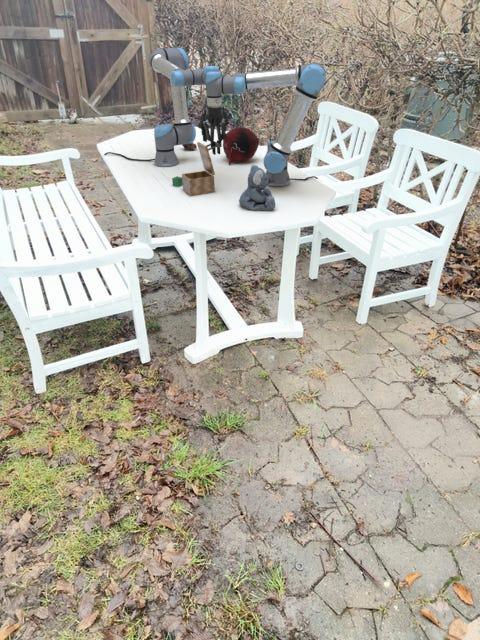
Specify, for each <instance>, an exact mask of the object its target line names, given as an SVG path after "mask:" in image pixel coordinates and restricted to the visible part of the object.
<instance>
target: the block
mask: <svg viewBox="0 0 480 640" xmlns="http://www.w3.org/2000/svg"><path fill="white" fill-rule="evenodd" d="M171 181H172V186H173V187H177V188H179V187H183V183H182V176H174V177H171Z"/></svg>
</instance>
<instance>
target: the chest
mask: <svg viewBox="0 0 480 640" xmlns="http://www.w3.org/2000/svg"><path fill="white" fill-rule="evenodd" d="M181 177H182V183H183V185H182V190H183V191H184V192H185V193H186V194H188V195H189V196H190V197H193V196H199V195H205V194H212V193H215V192H216V188H215V187H216V186H215V175H212V174H210V173H209V172H207V171H206V170H200V171H193V172H187V173H186V172H185V173H181Z"/></svg>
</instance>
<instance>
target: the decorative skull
mask: <svg viewBox="0 0 480 640" xmlns="http://www.w3.org/2000/svg"><path fill="white" fill-rule="evenodd" d="M259 145H260V139H259V138H258V136H257V135H256V133H254V132H253V131H252V130H251V129H250V128H248V127H243V126H242V127H241V126H238V127H235V128H233V129H231V130H229V131H226V138H225V139H223V140H222V149H223V153H224V154H225V157H226V159H227V161H228V165H229V166H231V164H232V162H234V163H235V162H236V163H245V162H247V161H249V160H251V159H252V158H253V157H254V156H255V154H256V153H257V151H258V148H259Z"/></svg>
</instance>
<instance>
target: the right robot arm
mask: <svg viewBox="0 0 480 640" xmlns="http://www.w3.org/2000/svg"><path fill="white" fill-rule="evenodd" d="M325 69H326V68H324V66H323V65H322V64H321V63H319V62H310V63H307V64H306V63H305V64H301V65H297V66H296V67H294V68H283V69H274V70H273V69H272V70H264V71H263V70H262V71H252V72H243V73H241V72H236V73H234V74H232V76H222V73H221V72H220V71H219V72H208V73H207V74H206V86H205V90H206V89H207V98H206V99H207V106H208V108H207V106H206V110H207V112H208V113H207V114H208V117H207V120H206V121H203V124H204V126H205V131H206V137H207V142H210V143H209V144H211V146H210V148H211V147H214V146H215V142H217V143H219V144H220V147H219V148H218V147H216V148H213V149H211V151H212V153H211V154H212V155H213V156H215V155H221V148H223V139H225V130H226V131H227V126H226V123H227V120H226V119H224V118H223V117H222V107H223V106H222V105H223V100H222V98H223V97H222V96H223V94H224V95H227V94H229V95H242V94H245V92H246V90H252V89H253V90H254V89H266V88H276V87H277V88H278V87H279V88H280V87H290V86H295V88H294V89H295V95H294V98H293V100H292V102H291V104H290V107H289V109H288V111H287V114H286V116H285V118H284V120H283V123H282V125H281V127H280V129H279V132H278V134H277V136H276V138H275V140H269V141H268V142H267V145H266V148H267V151H266V153H265V154H264V157H263V161H262V162H263V167H264V169H265V170H266V171H265V173H266V174H267V177H268V178H269V179H270V183H269V184H268V185H267V187H273V188H283V187H286V186H288V185H290V184H291V181H307V180H308V179H313V178H314V179H316V180H319V178H318V177H317V176H314V175H313V176H307V177H305V178H290V174H289V170H288V165H289V163H288V162H289V157H290V156H291V153H292V145H293V143H294V140H295V139H296V136H297V134H298V132H299V130H300V128H301V127H302V124H303V122H304V120H305V117H306V116H307V113H308V111H309V109H310V107H311V105H312V103H313V102H315V101H316V100H318V97H319V95H320V93H321V91H322V89H323V88H324V87H325V84H326V81H327V73H326V70H325ZM221 122H222V123H221ZM221 125H222V128H221ZM209 127H210V128H209ZM215 129H216V135H217V136H216V137H217V140H216V141H215ZM214 141H215V142H214Z"/></svg>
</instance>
